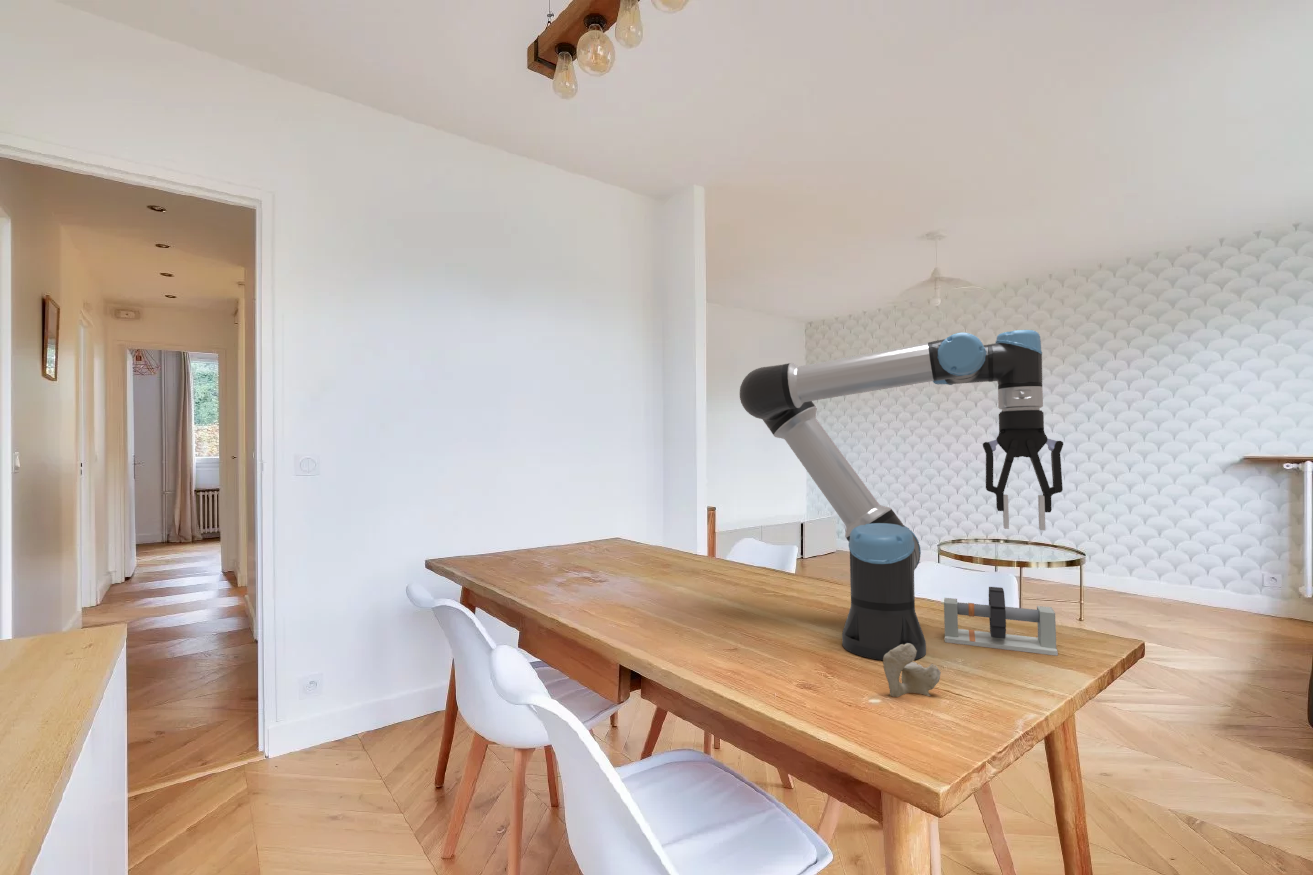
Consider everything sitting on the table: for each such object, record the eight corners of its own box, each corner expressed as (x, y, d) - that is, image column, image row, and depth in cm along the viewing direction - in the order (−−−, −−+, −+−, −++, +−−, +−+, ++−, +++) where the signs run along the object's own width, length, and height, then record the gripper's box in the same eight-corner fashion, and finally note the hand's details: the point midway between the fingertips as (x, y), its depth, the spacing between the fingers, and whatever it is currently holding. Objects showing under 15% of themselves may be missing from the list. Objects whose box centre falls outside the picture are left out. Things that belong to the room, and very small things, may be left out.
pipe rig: (944, 642, 118) (943, 604, 118) (945, 631, 125) (944, 595, 125) (1057, 655, 109) (1056, 615, 109) (1051, 643, 116) (1050, 605, 116)
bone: (929, 671, 98) (935, 629, 93) (943, 706, 92) (951, 662, 87) (876, 674, 99) (879, 631, 94) (887, 708, 93) (891, 665, 88)
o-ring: (991, 641, 113) (990, 593, 114) (989, 628, 122) (988, 583, 122) (1006, 643, 112) (1005, 594, 113) (1002, 629, 121) (1001, 584, 121)
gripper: (968, 411, 117) (971, 528, 116) (1080, 406, 109) (1084, 533, 108) (967, 413, 123) (970, 524, 123) (1073, 409, 115) (1077, 528, 115)
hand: (1024, 528), depth 115 cm, fingers open, 5 cm apart
